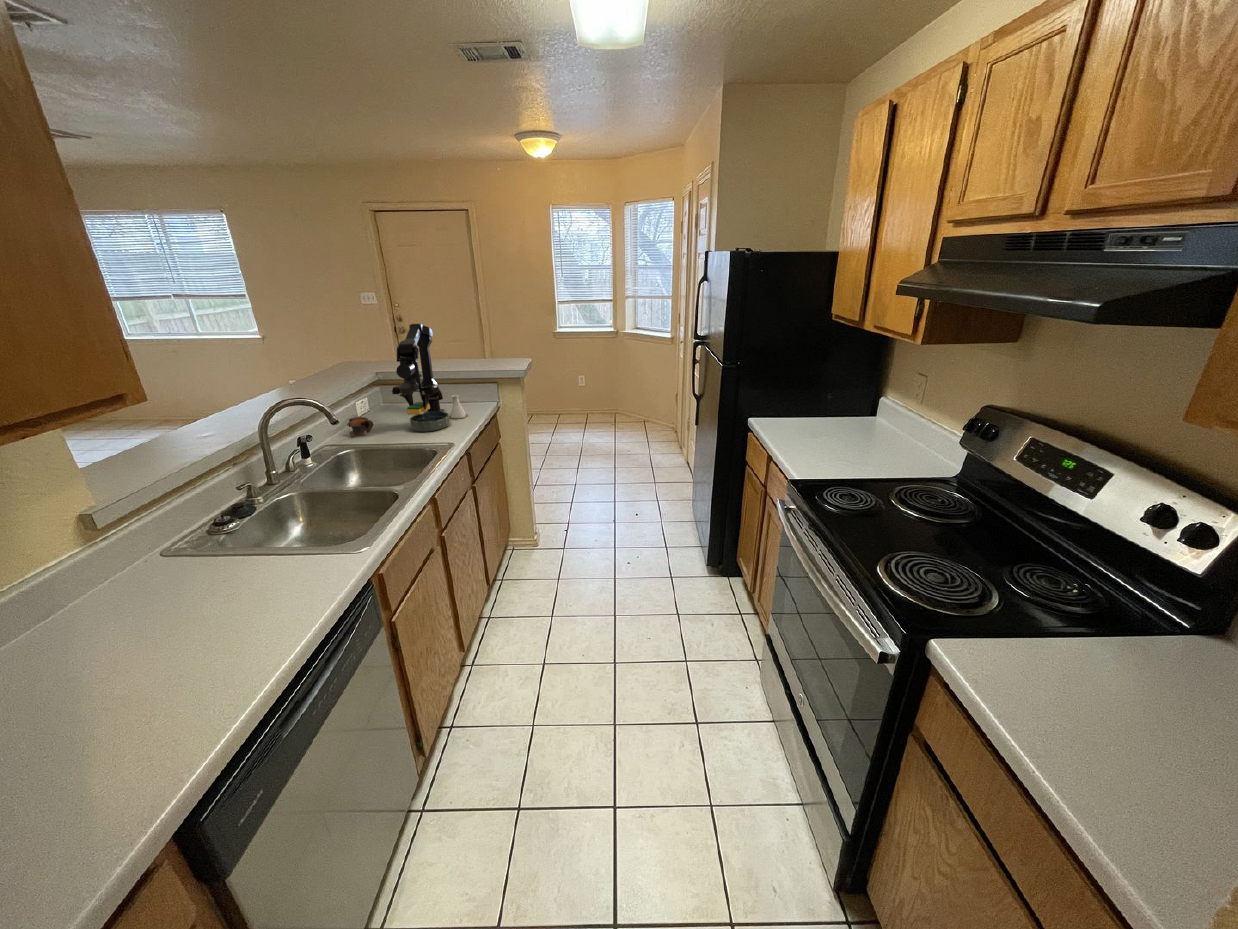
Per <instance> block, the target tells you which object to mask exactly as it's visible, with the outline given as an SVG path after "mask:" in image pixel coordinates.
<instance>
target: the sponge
mask: <svg viewBox="0 0 1238 929" xmlns="http://www.w3.org/2000/svg"><path fill="white" fill-rule="evenodd" d="M428 409H430V405H429V402H428V404H427V408H426V409H424V406H423V401H416V402H415V403H414V402H413V405H411V406H409V405H408V406H407V407H406V411H407V414H408V415H417V414H422V413H426V412H427V411H428Z"/></svg>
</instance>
